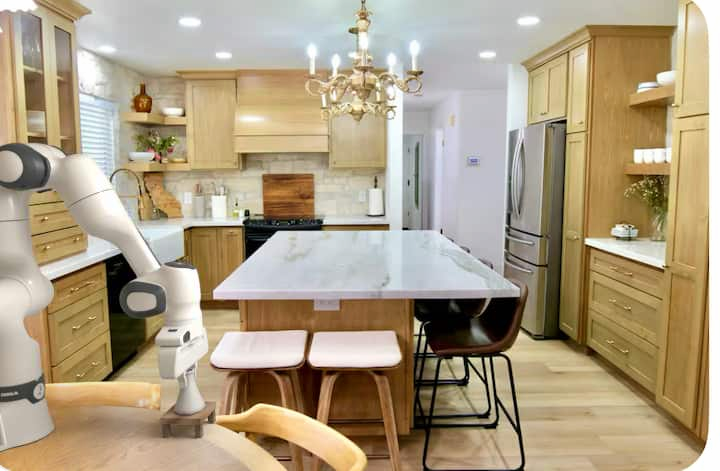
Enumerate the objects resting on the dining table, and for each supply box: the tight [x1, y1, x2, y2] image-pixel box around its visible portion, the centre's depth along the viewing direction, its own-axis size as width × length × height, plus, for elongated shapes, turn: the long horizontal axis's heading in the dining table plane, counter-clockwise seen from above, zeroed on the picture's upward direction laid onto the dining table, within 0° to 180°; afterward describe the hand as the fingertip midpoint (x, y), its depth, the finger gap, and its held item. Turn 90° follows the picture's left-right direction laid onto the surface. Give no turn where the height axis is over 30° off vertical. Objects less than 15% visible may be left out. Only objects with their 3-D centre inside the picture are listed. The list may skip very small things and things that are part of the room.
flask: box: [173, 368, 206, 415], centre depth 134 cm, size 7×7×10 cm
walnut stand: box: [159, 400, 217, 439], centre depth 135 cm, size 10×10×5 cm
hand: (187, 383), depth 134 cm, fingers open, 3 cm apart
